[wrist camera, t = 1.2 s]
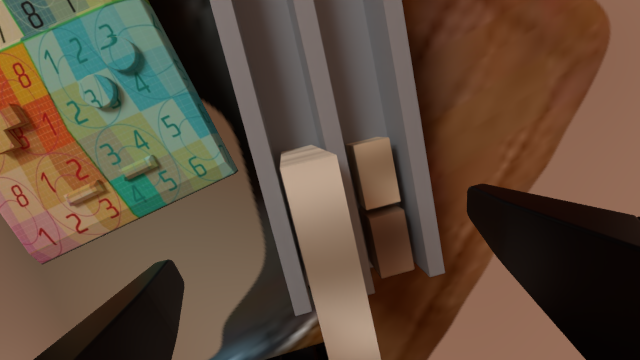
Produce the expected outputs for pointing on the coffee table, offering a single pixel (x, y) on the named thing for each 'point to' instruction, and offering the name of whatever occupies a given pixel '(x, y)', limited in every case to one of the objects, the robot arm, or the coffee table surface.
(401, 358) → the coffee table surface
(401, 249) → the offcut dark
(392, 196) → the offcut light
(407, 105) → the rack
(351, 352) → the beige square panel
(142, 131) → the puzzle game
